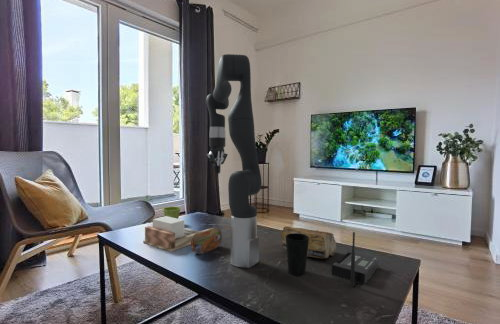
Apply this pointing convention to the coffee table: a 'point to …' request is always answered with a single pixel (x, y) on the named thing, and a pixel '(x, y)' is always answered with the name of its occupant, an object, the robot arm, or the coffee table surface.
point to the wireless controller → (355, 266)
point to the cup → (297, 253)
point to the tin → (206, 240)
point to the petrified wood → (313, 241)
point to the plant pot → (172, 211)
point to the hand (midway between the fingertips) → (217, 173)
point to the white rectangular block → (170, 225)
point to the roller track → (178, 243)
